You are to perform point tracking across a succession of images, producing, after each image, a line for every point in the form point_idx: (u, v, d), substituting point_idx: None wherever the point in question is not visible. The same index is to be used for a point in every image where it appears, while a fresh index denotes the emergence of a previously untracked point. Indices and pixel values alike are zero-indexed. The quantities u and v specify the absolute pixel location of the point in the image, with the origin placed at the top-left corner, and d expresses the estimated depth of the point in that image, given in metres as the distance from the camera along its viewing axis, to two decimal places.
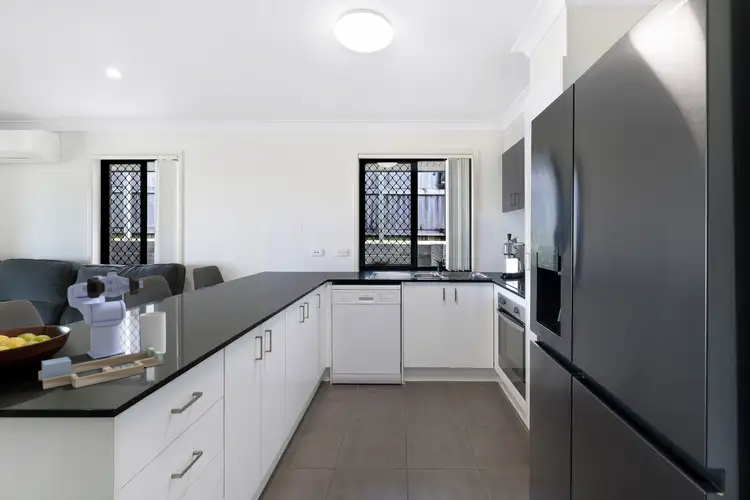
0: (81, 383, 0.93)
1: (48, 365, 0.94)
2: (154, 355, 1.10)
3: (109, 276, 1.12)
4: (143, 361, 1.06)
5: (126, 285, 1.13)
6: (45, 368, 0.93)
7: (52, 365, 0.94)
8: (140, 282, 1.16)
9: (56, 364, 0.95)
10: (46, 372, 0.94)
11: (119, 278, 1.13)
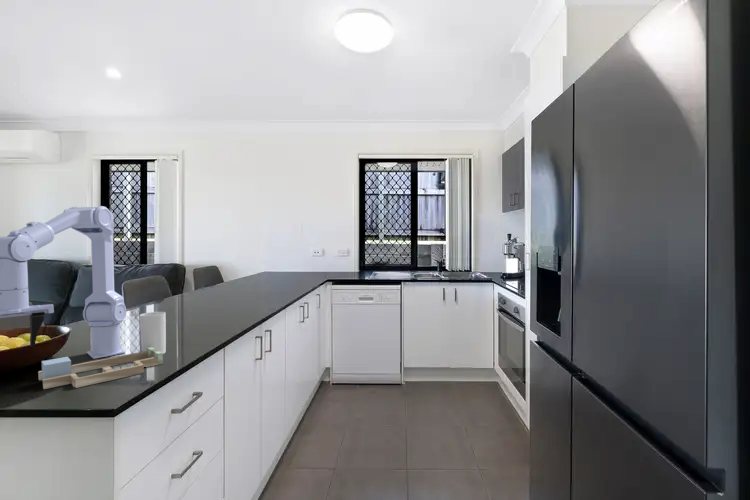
0: (81, 383, 0.93)
1: (48, 365, 0.94)
2: (154, 355, 1.10)
3: (9, 313, 0.89)
4: (143, 361, 1.06)
5: (30, 314, 0.93)
6: (45, 368, 0.93)
7: (52, 365, 0.94)
8: None
9: (56, 364, 0.95)
10: (46, 372, 0.94)
11: (23, 311, 0.91)
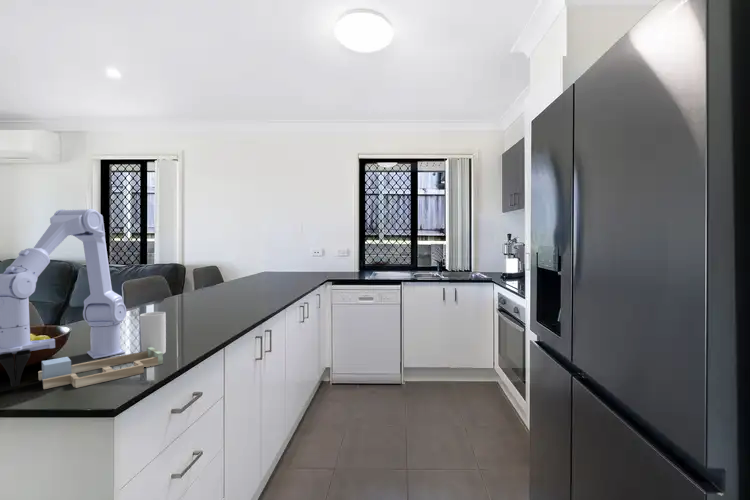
0: (81, 383, 0.93)
1: (48, 365, 0.94)
2: (154, 355, 1.10)
3: None
4: (143, 361, 1.06)
5: (31, 350, 0.94)
6: (45, 368, 0.93)
7: (52, 365, 0.94)
8: None
9: (56, 364, 0.95)
10: (46, 372, 0.94)
11: (24, 348, 0.91)
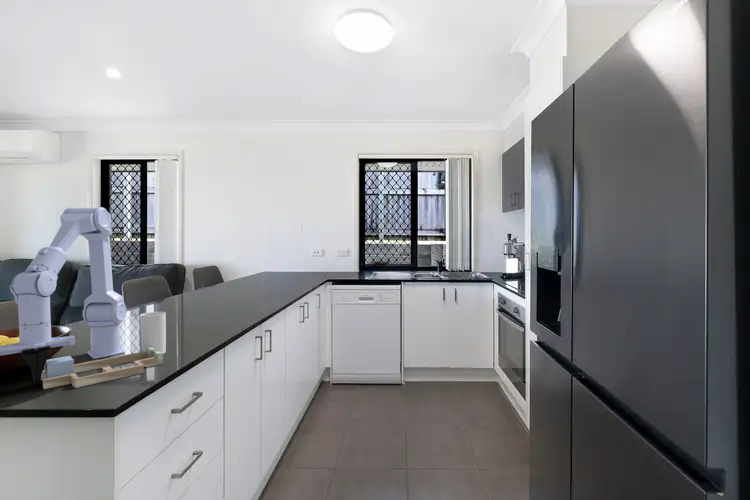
0: (81, 383, 0.93)
1: (51, 364, 0.94)
2: (154, 355, 1.10)
3: (33, 347, 0.92)
4: (143, 361, 1.06)
5: None
6: (48, 367, 0.94)
7: (55, 364, 0.95)
8: None
9: (59, 363, 0.95)
10: (49, 371, 0.94)
11: None
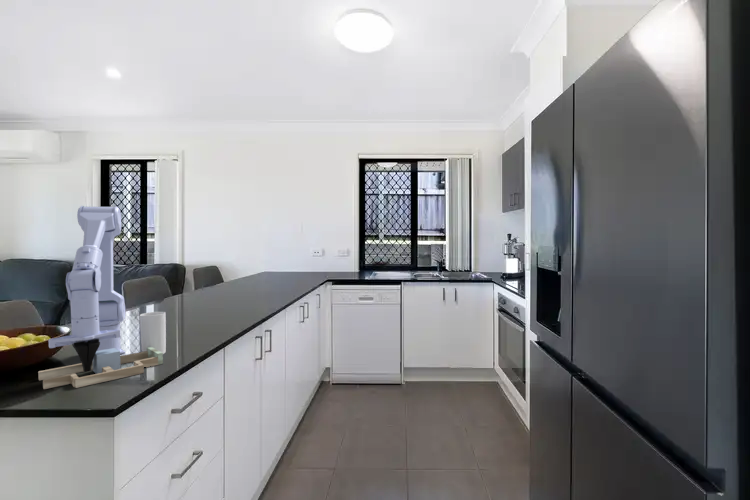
0: (81, 383, 0.93)
1: (100, 355, 1.01)
2: (154, 355, 1.10)
3: (84, 339, 0.98)
4: (143, 361, 1.06)
5: (100, 339, 1.03)
6: (98, 358, 1.01)
7: (104, 355, 1.02)
8: None
9: (107, 354, 1.02)
10: (98, 361, 1.01)
11: (95, 337, 1.01)
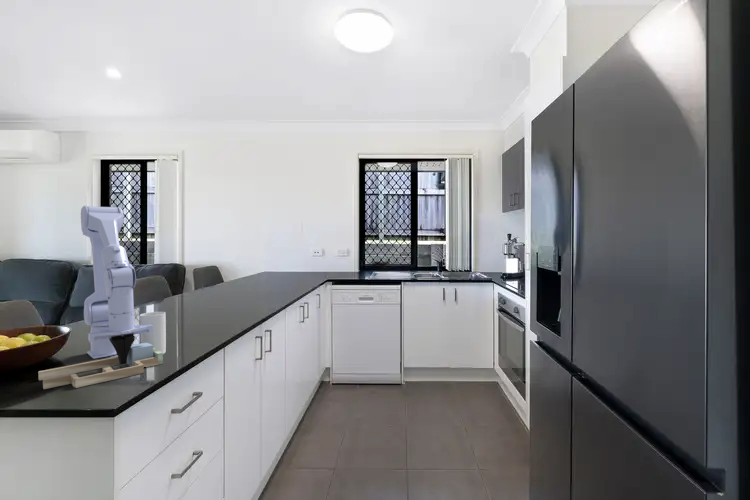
0: (81, 383, 0.93)
1: (135, 349, 1.07)
2: (154, 355, 1.10)
3: (121, 334, 1.04)
4: (143, 361, 1.06)
5: None
6: (133, 351, 1.06)
7: (138, 349, 1.07)
8: None
9: (141, 348, 1.08)
10: (134, 355, 1.06)
11: (131, 332, 1.06)
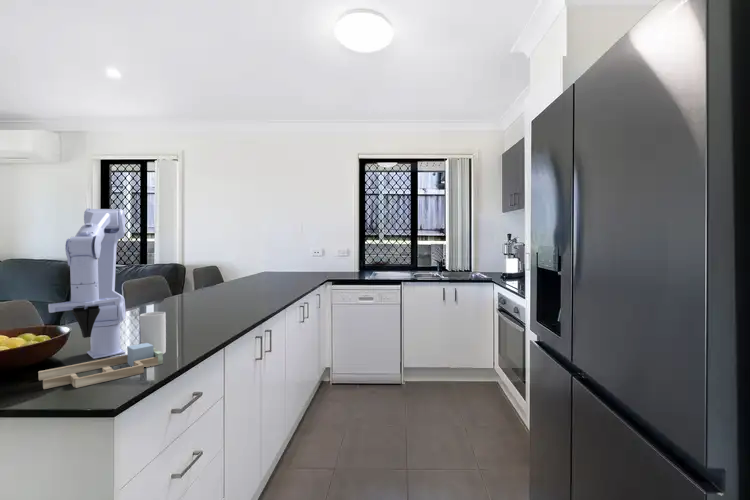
0: (81, 383, 0.93)
1: (135, 349, 1.07)
2: (154, 355, 1.10)
3: (84, 305, 0.99)
4: (143, 361, 1.06)
5: (99, 306, 1.04)
6: (133, 352, 1.06)
7: (139, 349, 1.07)
8: (116, 305, 1.06)
9: (142, 348, 1.08)
10: (134, 355, 1.06)
11: (95, 303, 1.02)
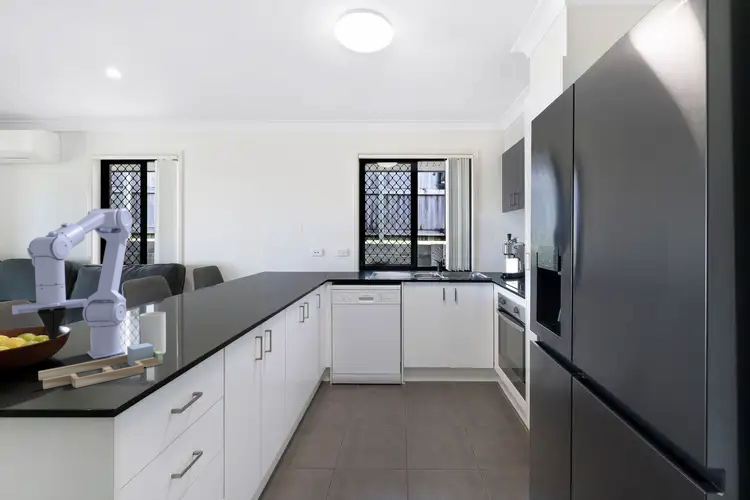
0: (81, 383, 0.93)
1: (135, 349, 1.07)
2: (154, 355, 1.10)
3: (49, 306, 0.98)
4: (143, 361, 1.06)
5: None
6: (133, 352, 1.06)
7: (139, 349, 1.07)
8: (84, 306, 1.04)
9: (142, 348, 1.08)
10: (134, 355, 1.06)
11: None
